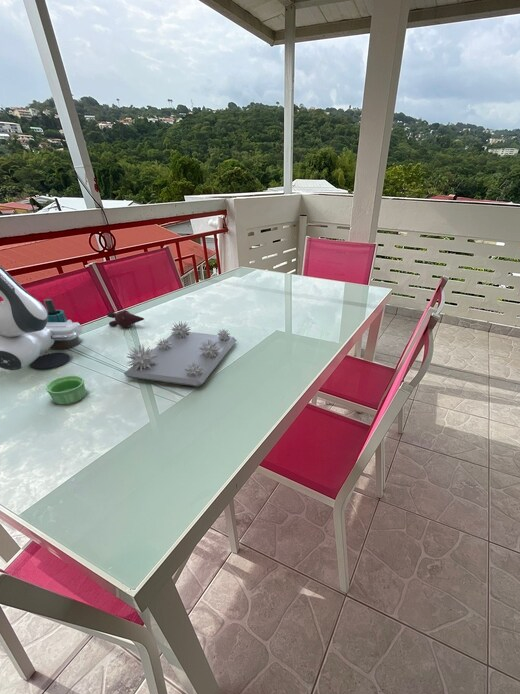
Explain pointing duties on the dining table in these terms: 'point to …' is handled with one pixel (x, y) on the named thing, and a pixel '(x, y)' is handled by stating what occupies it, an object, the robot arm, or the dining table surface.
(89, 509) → the dining table surface
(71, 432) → the dining table surface
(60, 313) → the teal ribbed hollow cylinder
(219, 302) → the dining table surface
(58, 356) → the coaster
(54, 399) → the ramekin
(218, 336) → the decorative tray
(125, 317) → the icecream
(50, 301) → the holder
